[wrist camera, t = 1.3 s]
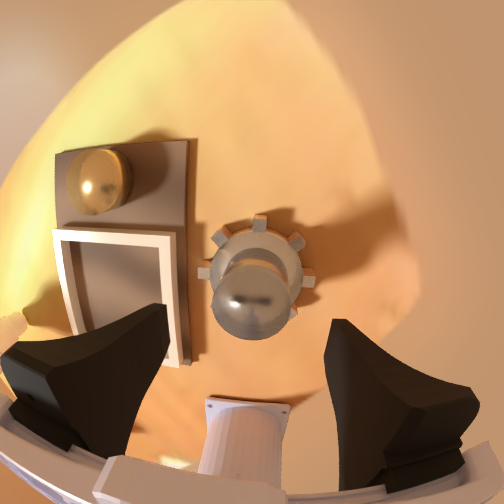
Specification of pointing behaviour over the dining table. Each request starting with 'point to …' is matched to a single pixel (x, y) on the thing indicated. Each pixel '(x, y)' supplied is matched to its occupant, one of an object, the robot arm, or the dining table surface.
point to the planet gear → (256, 279)
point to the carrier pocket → (123, 237)
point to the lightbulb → (11, 330)
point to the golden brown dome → (99, 181)
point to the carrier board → (135, 218)
